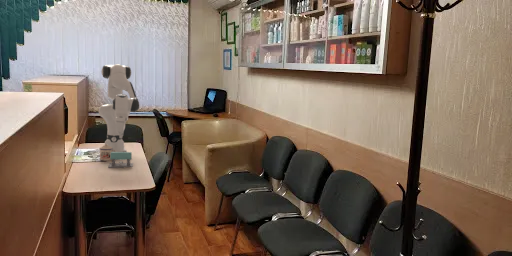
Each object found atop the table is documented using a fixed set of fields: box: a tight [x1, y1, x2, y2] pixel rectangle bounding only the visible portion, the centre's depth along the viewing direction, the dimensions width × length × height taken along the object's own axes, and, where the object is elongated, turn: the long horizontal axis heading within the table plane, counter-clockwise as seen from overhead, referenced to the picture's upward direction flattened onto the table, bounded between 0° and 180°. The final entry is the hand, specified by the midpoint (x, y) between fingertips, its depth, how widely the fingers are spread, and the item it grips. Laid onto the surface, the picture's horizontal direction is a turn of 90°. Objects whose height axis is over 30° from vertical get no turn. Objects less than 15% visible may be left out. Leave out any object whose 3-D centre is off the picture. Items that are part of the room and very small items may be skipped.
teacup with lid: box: [99, 143, 116, 162], centre depth 311 cm, size 12×9×12 cm
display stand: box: [108, 159, 134, 169], centre depth 294 cm, size 10×16×6 cm, turn 104°
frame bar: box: [110, 151, 133, 161], centre depth 293 cm, size 2×14×5 cm, turn 103°
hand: (121, 136), depth 291 cm, fingers open, 8 cm apart
